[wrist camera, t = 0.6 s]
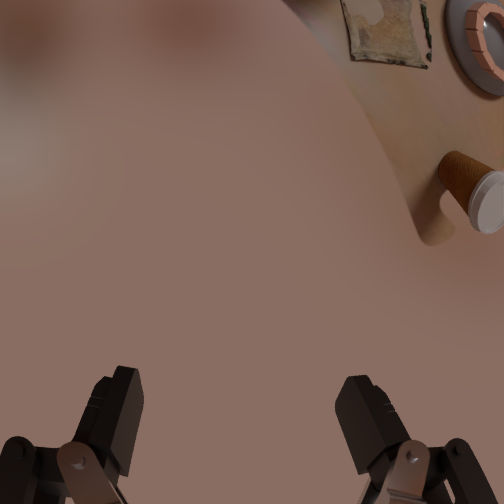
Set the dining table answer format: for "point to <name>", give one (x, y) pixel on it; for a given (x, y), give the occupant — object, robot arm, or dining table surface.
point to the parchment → (387, 35)
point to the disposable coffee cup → (475, 190)
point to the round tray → (478, 41)
